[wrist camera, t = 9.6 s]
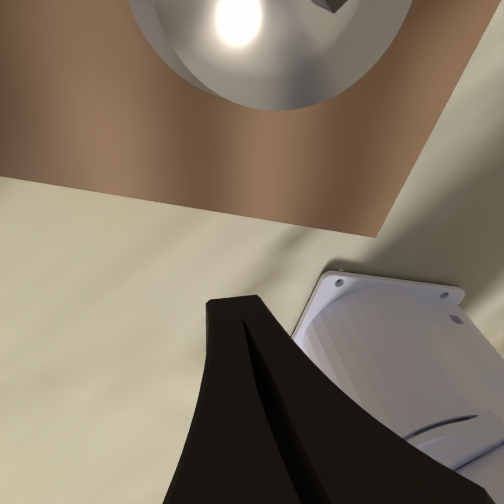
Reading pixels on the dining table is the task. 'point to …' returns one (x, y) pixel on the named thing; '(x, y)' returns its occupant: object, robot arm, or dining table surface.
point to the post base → (218, 116)
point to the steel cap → (280, 45)
